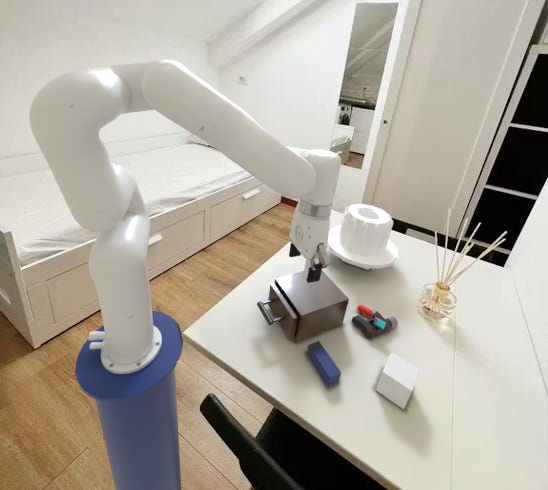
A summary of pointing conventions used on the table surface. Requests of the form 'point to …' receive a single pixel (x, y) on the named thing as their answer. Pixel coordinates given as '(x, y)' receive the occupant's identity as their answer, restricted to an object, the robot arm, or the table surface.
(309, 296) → the cabinet
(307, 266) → the eye dropper bottle
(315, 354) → the blue block
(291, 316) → the drawer
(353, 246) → the flanged gear
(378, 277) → the table surface
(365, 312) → the toy gun
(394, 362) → the white cube
